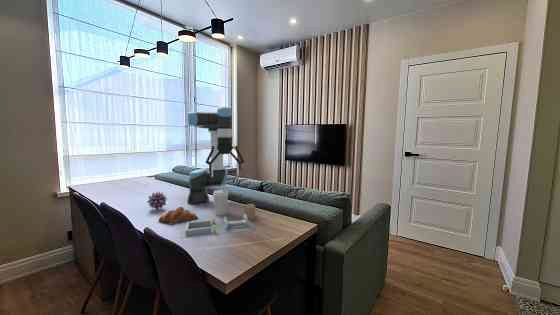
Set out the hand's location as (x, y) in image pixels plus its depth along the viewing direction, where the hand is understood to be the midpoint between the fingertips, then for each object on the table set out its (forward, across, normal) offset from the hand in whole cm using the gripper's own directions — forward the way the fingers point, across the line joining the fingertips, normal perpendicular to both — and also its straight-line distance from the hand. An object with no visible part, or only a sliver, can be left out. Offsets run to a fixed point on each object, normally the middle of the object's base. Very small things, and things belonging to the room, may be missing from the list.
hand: (225, 176), depth 131 cm
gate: (+26, +5, -6) cm, 27 cm away
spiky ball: (+27, -41, +37) cm, 62 cm away
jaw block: (+27, +14, +5) cm, 31 cm away
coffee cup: (+27, -2, +16) cm, 32 cm away
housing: (+27, -5, -6) cm, 28 cm away
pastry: (+28, -26, +12) cm, 40 cm away
